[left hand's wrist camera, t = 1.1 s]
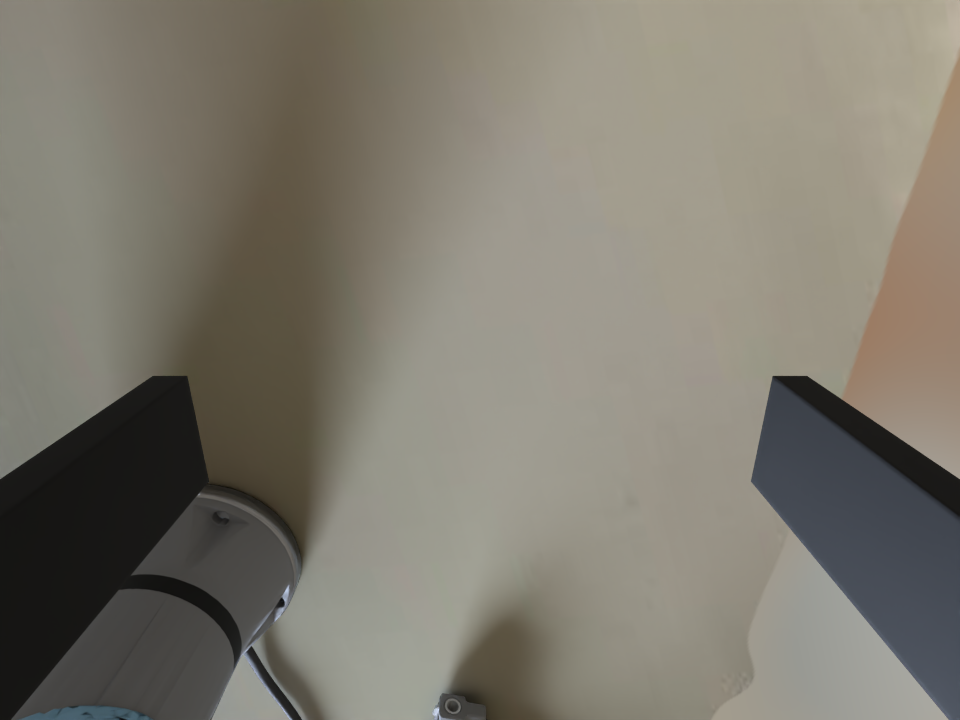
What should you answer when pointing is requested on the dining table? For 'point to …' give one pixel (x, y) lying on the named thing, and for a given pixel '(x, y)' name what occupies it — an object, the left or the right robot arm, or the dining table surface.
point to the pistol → (458, 709)
